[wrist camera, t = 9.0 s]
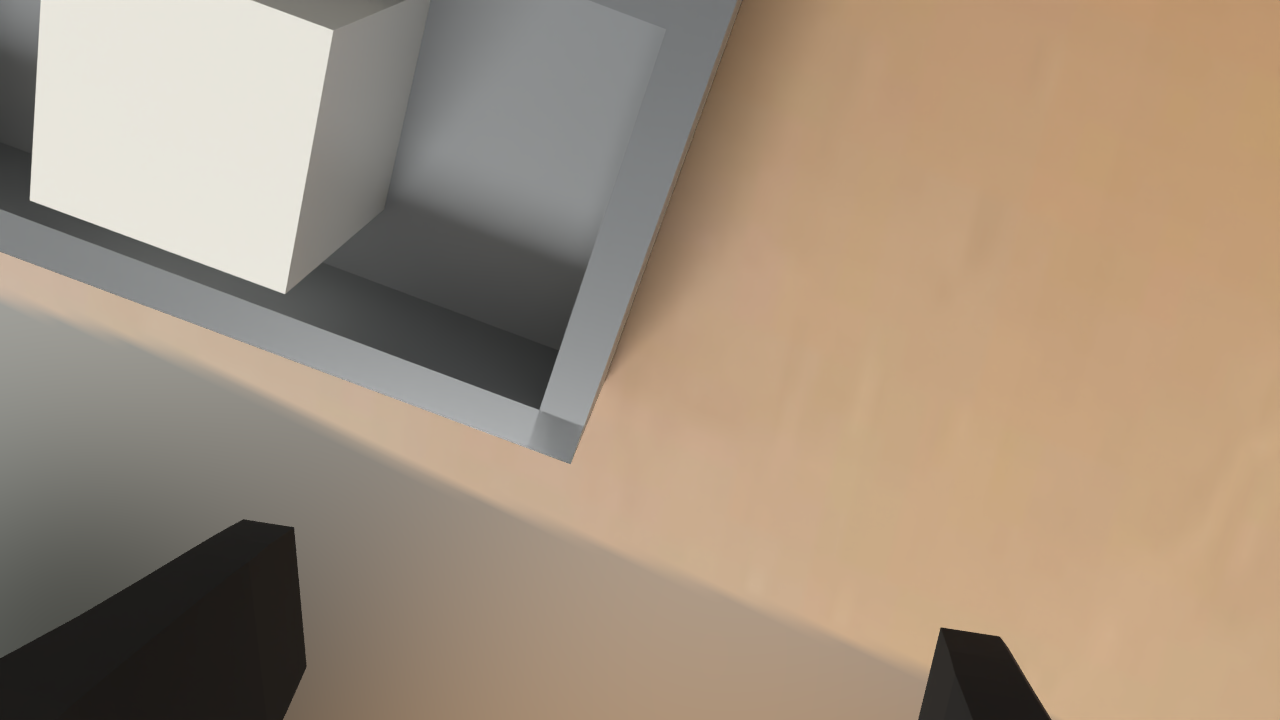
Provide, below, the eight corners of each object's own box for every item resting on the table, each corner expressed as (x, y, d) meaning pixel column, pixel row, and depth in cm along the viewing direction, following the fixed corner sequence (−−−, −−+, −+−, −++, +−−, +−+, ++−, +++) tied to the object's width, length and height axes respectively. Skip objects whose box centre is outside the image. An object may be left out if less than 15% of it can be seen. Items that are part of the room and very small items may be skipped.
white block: (433, -11, 18) (333, 30, 14) (384, 209, 20) (284, 294, 16) (202, -96, 18) (45, -77, 14) (175, 132, 20) (29, 200, 16)
